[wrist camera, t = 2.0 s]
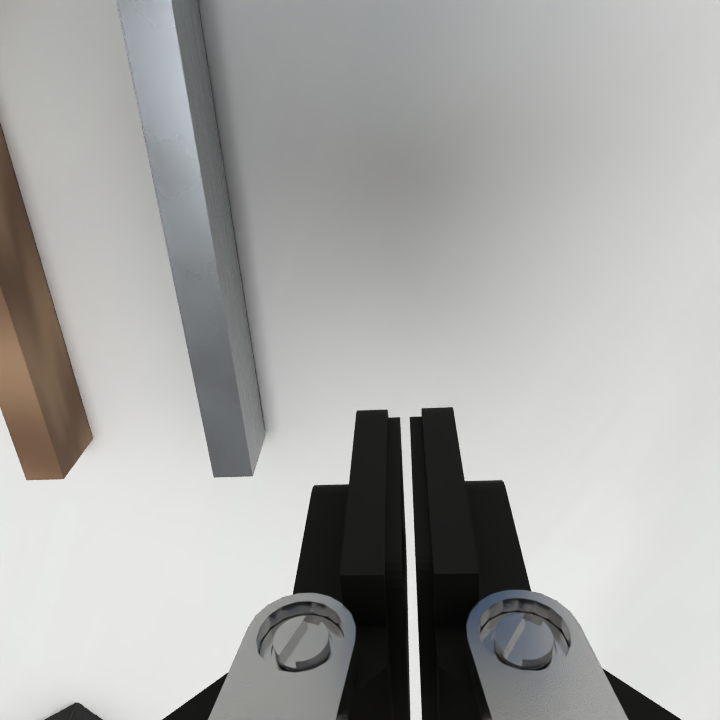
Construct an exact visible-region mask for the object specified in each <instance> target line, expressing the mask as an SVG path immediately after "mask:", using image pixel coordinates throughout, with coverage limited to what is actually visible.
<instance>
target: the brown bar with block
mask: <svg viewBox="0 0 720 720" xmlns="http://www.w3.org/2000/svg"><path fill="white" fill-rule="evenodd" d="M0 408H1V410H2V413H3V416H4V419H5V421H6V424H7V427H8V430H9V433H10V435H11V438H12V441H13V444H14V447H15V449H16V452H17V455H18V458H19V460H20V463H21V466H22V469H23V472H24V474H25V477H26V480H49V479H64V478H65V477H66V475H67V474H68V472H69V471H70V470H71V468H72V467H73V466H74V464H75V463H76V461H77V460H78V459H79V457H80V456H81V455H82V453H83V452H84V450H85V449H86V448H87V446H88V445H89V444H90V442H91V441H92V439H93V438H92V435H91V431H90V428H89V424H88V421H87V418H86V414H85V411H84V407H83V404H82V401H81V397H80V394H79V390H78V387H77V384H76V380H75V377H74V374H73V370H72V367H71V363H70V360H69V357H68V353H67V350H66V346H65V343H64V340H63V336H62V333H61V329H60V326H59V323H58V319H57V316H56V312H55V309H54V306H53V302H52V299H51V295H50V292H49V289H48V285H47V282H46V278H45V275H44V272H43V268H42V265H41V261H40V258H39V255H38V251H37V248H36V244H35V241H34V238H33V234H32V231H31V228H30V224H29V221H28V217H27V214H26V211H25V207H24V204H23V200H22V197H21V194H20V190H19V187H18V183H17V180H16V177H15V173H14V170H13V166H12V163H11V160H10V156H9V153H8V149H7V146H6V143H5V139H4V136H3V132H2V129H1V126H0Z"/></svg>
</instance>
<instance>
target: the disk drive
mask: <svg viewBox="0 0 720 720" xmlns="http://www.w3.org/2000/svg"><path fill="white" fill-rule="evenodd" d="M45 720H102V719H101V718H100V717H98V716H97V715H95V714H93V713H92V712H91V711H89V710H88V709H87V708H85V707H84V706H83V705H81V704H80V703H74V704H73V705H71V706H69V707H67V708H66V709H64V710H61V711H60V712H58V713H56V714H54V715H52V716H50V717H49V718H47V719H45Z"/></svg>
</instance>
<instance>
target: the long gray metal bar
mask: <svg viewBox="0 0 720 720" xmlns="http://www.w3.org/2000/svg"><path fill="white" fill-rule="evenodd" d="M117 5H118V10H119V15H120V19H121V24H122V29H123V34H124V39H125V44H126V49H127V54H128V59H129V64H130V68H131V73H132V78H133V83H134V88H135V93H136V98H137V103H138V108H139V113H140V118H141V122H142V127H143V132H144V137H145V142H146V147H147V152H148V157H149V162H150V167H151V171H152V176H153V181H154V186H155V191H156V196H157V201H158V206H159V211H160V216H161V220H162V225H163V230H164V235H165V240H166V245H167V250H168V255H169V260H170V265H171V270H172V274H173V279H174V284H175V289H176V294H177V299H178V304H179V309H180V314H181V319H182V323H183V328H184V333H185V338H186V343H187V348H188V353H189V358H190V363H191V368H192V372H193V377H194V382H195V387H196V392H197V397H198V402H199V407H200V412H201V417H202V422H203V426H204V431H205V436H206V441H207V446H208V451H209V456H210V461H211V466H212V471H213V475H214V477H242V476H253V474H254V470H255V467H256V464H257V461H258V458H259V454H260V451H261V448H262V445H263V441H264V438H265V430H264V424H263V417H262V411H261V404H260V398H259V392H258V385H257V379H256V372H255V366H254V360H253V353H252V347H251V340H250V334H249V328H248V321H247V315H246V308H245V302H244V295H243V289H242V283H241V276H240V270H239V263H238V257H237V251H236V244H235V238H234V231H233V225H232V219H231V212H230V206H229V199H228V193H227V187H226V180H225V174H224V167H223V161H222V155H221V148H220V142H219V135H218V129H217V123H216V116H215V110H214V103H213V97H212V90H211V84H210V78H209V71H208V65H207V58H206V52H205V46H204V39H203V33H202V26H201V20H200V14H199V7H198V1H197V0H117Z"/></svg>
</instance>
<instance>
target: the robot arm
mask: <svg viewBox="0 0 720 720" xmlns="http://www.w3.org/2000/svg"><path fill="white" fill-rule="evenodd" d="M410 433H411V458H412V483H413V508H414V532H415V557H416V582H417V606H418V631H419V655H420V680H421V705H422V720H681V719H680V718H678V717H676V716H675V715H673V714H672V713H670V712H669V711H667V710H666V709H664V708H663V707H661V706H660V705H658V704H656V703H655V702H653V701H652V700H650V699H649V698H647V697H646V696H644V695H643V694H641V693H640V692H638V691H636V690H635V689H633V688H632V687H630V686H629V685H627V684H626V683H624V682H623V681H621V680H619V679H618V678H616V677H615V676H613V675H612V674H610V673H609V672H607V671H606V670H604V669H603V668H602V667H601V665H600V663H599V661H598V659H597V657H596V655H595V653H594V652H593V650H592V648H591V646H590V644H589V642H588V640H587V638H586V636H585V634H584V632H583V630H582V628H581V626H580V624H579V623H578V622H577V620H576V619H575V617H574V616H573V615H572V613H571V612H570V611H569V610H568V609H566V608H565V607H564V606H563V605H561V604H560V603H559V602H558V601H556V600H554V599H552V598H549V597H547V596H545V595H543V594H541V593H536V592H532V591H531V589H530V585H529V581H528V577H527V573H526V569H525V565H524V561H523V557H522V552H521V548H520V544H519V540H518V536H517V532H516V528H515V524H514V520H513V516H512V512H511V508H510V504H509V500H508V496H507V492H506V488H505V485H504V482H503V481H502V480H494V481H464V474H463V468H462V462H461V456H460V449H459V443H458V437H457V430H456V424H455V418H454V411H453V408H452V407H448V408H422V417H410ZM163 720H410V688H409V645H408V602H407V559H406V533H405V512H404V491H403V470H402V449H401V428H400V417H395V418H388V410H362V411H357V413H356V421H355V431H354V441H353V451H352V461H351V470H350V480H349V484H346V485H314V487H313V489H312V493H311V498H310V503H309V509H308V514H307V520H306V525H305V531H304V536H303V542H302V547H301V553H300V558H299V564H298V569H297V574H296V580H295V585H294V591H293V595H290V596H286V597H282V598H280V599H278V600H276V601H275V602H273V603H271V604H269V605H267V606H266V607H265V608H264V609H263V610H262V611H260V612H259V613H258V614H257V615H256V616H255V618H254V619H253V621H252V622H251V624H250V625H249V627H248V629H247V631H246V633H245V636H244V638H243V640H242V642H241V645H240V647H239V649H238V652H237V654H236V656H235V659H234V661H233V663H232V666H231V668H230V670H229V672H228V673H227V674H225V675H224V676H223V677H221V678H220V679H218V680H217V681H216V682H214V683H213V684H211V685H210V686H209V687H207V688H206V689H204V690H203V691H202V692H200V693H199V694H197V695H196V696H195V697H193V698H192V699H190V700H189V701H188V702H186V703H185V704H184V705H182V706H181V707H179V708H178V709H177V710H175V711H174V712H172V713H171V714H170V715H168V716H167V717H165V718H164V719H163Z"/></svg>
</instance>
